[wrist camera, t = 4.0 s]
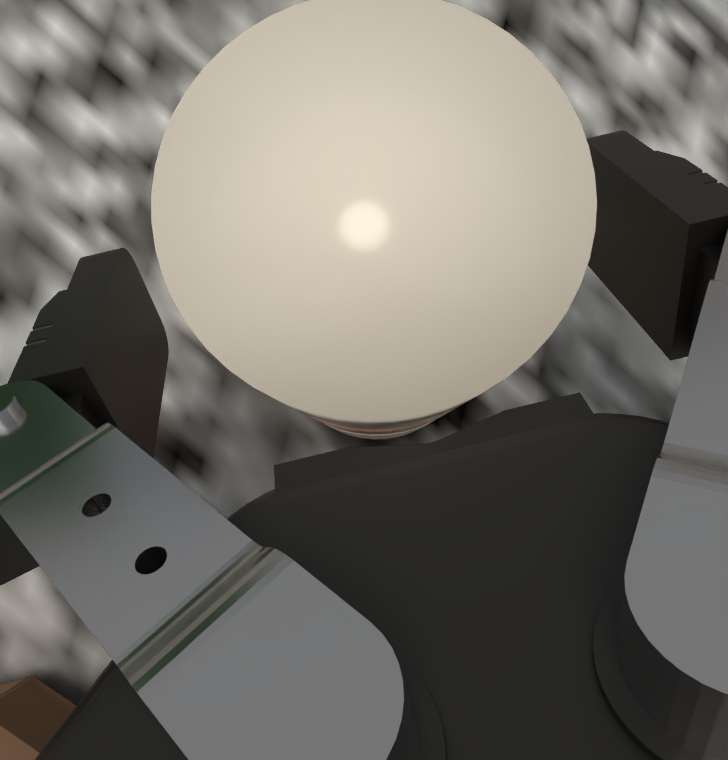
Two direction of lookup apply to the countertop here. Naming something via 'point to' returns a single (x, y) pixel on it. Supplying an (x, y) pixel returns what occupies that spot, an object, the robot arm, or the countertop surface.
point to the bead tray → (29, 717)
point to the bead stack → (374, 209)
